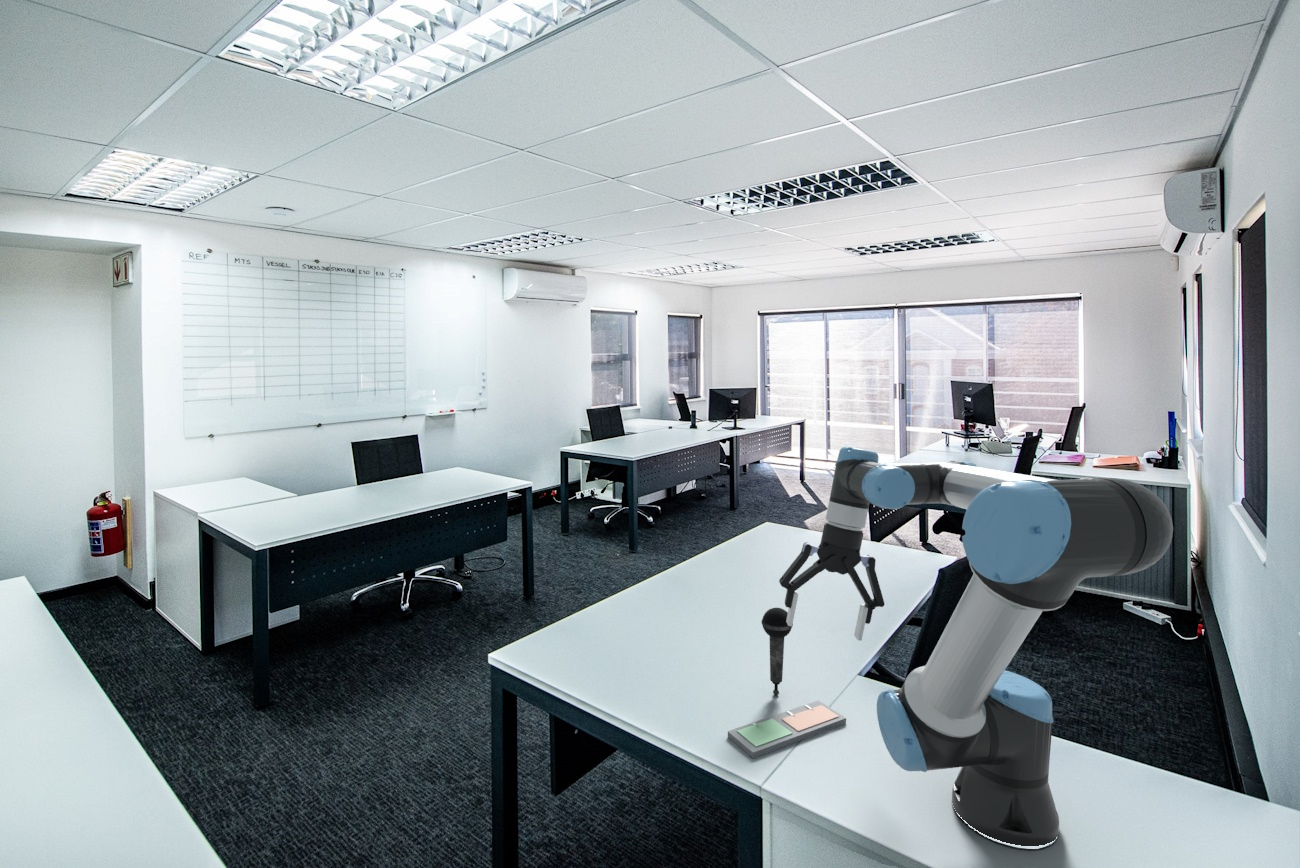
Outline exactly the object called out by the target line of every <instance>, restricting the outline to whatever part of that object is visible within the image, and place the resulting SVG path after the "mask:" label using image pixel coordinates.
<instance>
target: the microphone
mask: <svg viewBox="0 0 1300 868" xmlns="http://www.w3.org/2000/svg"><path fill="white" fill-rule="evenodd" d="M787 615H788V611H786V609H783V608H781V607H772V608H769V609H768V610H766V611H765V613H764V614H763V617H762V619H761V625H762V628H763V630H764V632H765V633H766V634H767V635H768V636H769V671H770V672H769V675H770V676H769V681H771V682H772V684H774V689H773V690H772V693H773V695H774V696H778V695H779V694H780V690H779V688H778V687H779V686H778V685H780V684H781V683H782V682H783V675H784V674H783V670H784V655H785V654H784V650H785V637H787V636H788V635H789V634H790V633H791V631H792V628H793V626H794V623H793V624H792V626H788V624H787V622H786V620H787Z"/></svg>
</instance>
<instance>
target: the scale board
mask: <svg viewBox="0 0 1300 868" xmlns="http://www.w3.org/2000/svg"><path fill="white" fill-rule="evenodd" d="M843 725H847V717H845V716H844V715H842V714H841V713H839V712H838V711H836V710H834V709H833V708H831V707H829V706H828V705H827V704H825V703H824V702H821V701H820V700H818V699H817V700H815V701H813V702H810V703H806V704H804V705H802V706H801V705H800V706H798V707H795V708H792V709H790V710H786V711H783V712H780V713H777V714H774V715H772V716H768V717H766V718H763V719H759V720H756V721H754V722H751V723H748V724H745V725H743V726H738V727H736V728H734V729H730V730H727V738H728V739H729V740H731V741H732V742H733V743H734V744H735V745H736V746H737V747H739V748H740V749H741V750H742V751H743V752H744V753H746V754H747V755H748V756H749V755H750V756H749V757H751V759H756V758H758V757H760V755H761V756H763V755H766V754H769V753H771V752H773V751H776V750H780V749H782V748H784V747H785V748H786V747H787V746H790V745H793V744H795V743H798V742H801V741H804V740H806V739H808V738H811V737H814V736H817V735H819V734H822V733H825V732H827V731H830V730H832V729H835V728H837V727H841V726H843ZM757 756H758V757H757ZM755 757H756V758H755Z"/></svg>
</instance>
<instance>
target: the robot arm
mask: <svg viewBox="0 0 1300 868" xmlns="http://www.w3.org/2000/svg"><path fill="white" fill-rule="evenodd" d="M829 495H830V496H829V500H828V505H827V509H826V515H825V520H826V521H827V522H826V523H824V525H823V529H822V534H821V535H822V536H821V539H820V543H819V545H818V546H816V545H813V544H810V543H809V542H804V543H803V545H802V548H801V552H800V553H799V554H797V555H798V556H796V558H795V559H794V561H792V563H791V564H790V566H789V567H788V568H787V570H786V571H784V573H783V574H782V576H781V577H780V578H779V580H778V583H779V584H780V586H781V587H782V588H784V589H785V590H786V593H785V599H784V605H785V607H786V608H788V610H787V612H788V615H787V620H786V622H787V624H788V626H792V624H793V625H794V619H795V614H796V610H797V609H796V607H797V602H798V598H799V593H798V591H797V590H799V588H801V587H802V586H803V585H805V584H806V583H807V582H809V581H810V580H812V578H814V577H815V576H817V575H818V574H819V573H821V572H823V571H824V570H826V571H827V572H829V573H837V574H839V575H846V574H848V575H849V578H850V579H851V581H852V582H853V584H854V586H855V587H856V589H857V591H858V593H859V595H860V596H861V598H862V600H863V603H860V605H859V609H858V610H859V611H858V614H857V618H856V619H857V620H856V625H855V628H854V629H855V630H854V634H853V636H854V637H855V638H856V640H857V641H859V642H861V641H862V640H863V637H864V636H863V635H864V630H865V625H866V624H867V625H869V624H870V623H871V621H872V616H873V611H874V610H875V609H876V608H877V607H880V608H883V607H884V606H885V600H884V598H883V594H882V590H881V586H880V583H879V580H878V575H877V573H876V558H875V557H874V556H873V555H871V554H866V555H861V547H862V542H863V538H864V534H865V533H864V531H863V530H862V529H865V527H866V524H867V520H868V519H867V518H868V514H869V513H868V512H869V508H870V504H871V505H873V506H875V507H878V508H881V509H889V510H899V509H902V508H904V507H905V506H907V505H908V506H909V505H925V504H944V505H948V506H952V507H955V508H960V509H964V510H966V511H965V513H964V516H963V520H962V527H961V528H962V530H964V532H965V534H964V535H962V536H961V541H962V547H963V549H964V553H965V556H966V558H967V560H968V563H969V567H970V569H971V572H972V573H973V574H972V576H971V578H970V580H969V582H968V584H967V586H966V588H965V590H964V592H963V593H962V596H961V598H960V599H959V601H958V603H957V605H956V607H955V609H954V610H953V613H952V615H950V619H949V621H948V623H947V624H946V625H945V627H944V630H943V632H942V634H941V635H940V638H939V640H938V641H937V644H936V645H935V647H934V649H933V651H932V652H931V655H930V656H929V658H928V661H927V662H926V664H925V665H922V666H919V667H916V668H914V669H913V670H911V672H910V673H909V674H908V675H907V677H906V678H905V681H904V683H903V684H902V687H900V688H898V689H893V688H888V689H887V690H883V691H882V692H880V693H879V695H877V700H876V716H877V721H878V727H879V730H880V734H881V737H882V740H883V742H884V745H885V748H886V749H887V751H888V753H889V755H890V757H891V759H892V760H893V761H894V763H895V764H897V766H899V767H900V768H901V769H902V770H904V771H906V772H923V773H927V771H928V772H929V771H937V770H945V769H955V768H960V771H959V772H958V774H957V775H956V779H955V781H954V783H953V785H952V791H951V804H952V803H953V806H954V808H955V810H956V812H957V813H958V814H959V815H960V817H962V819H963V820H965V821H966V822H967V823H968V824H969V825H970V826H972V827H973V828H975V829H976V830H978V831H979V832H981V833H983V834H985V835H987V836H989V837H992V838H994V839H997V840H1000V841H1002V842H1006V843H1010V844H1015V845H1021V846H1039V845H1045V844H1047V843H1050V842H1052V841H1054V840H1055V839H1056V837H1057V836H1058V837H1059V834H1058V833H1060V830H1059V829H1060V818H1059V817H1060V816H1059V814H1058V811H1057V807H1056V803H1055V801H1054V796H1053V794H1052V790H1051V787H1050V783H1049V773H1050V757H1051V756H1050V755H1051V748H1052V747H1051V746H1052V745H1051V744H1052V733H1053V723H1054V717H1053V700H1052V697H1051V695H1050V694H1049V692H1048V691H1047V690H1046V689H1045V688H1044V687H1042V686H1041V685H1040V684H1039V683H1036V682H1035V681H1033V680H1031V679H1029V678H1028V677H1025V676H1023V675H1022V674H1021V675H1020V674H1018V673H1015V672H1012V671H1009V670H1006V669H1007V667H1008V666H1009V664H1010V663H1011V661H1012V659H1013V658H1014V656H1015V654H1017V652H1018V650H1019V649H1020V647H1021V645H1022V644H1023V643H1024V641H1025V639H1026V638H1027V636H1028V635H1029V634H1030V631H1031V630H1032V628H1033V627H1034V625H1035V624H1036V622H1037V621H1038V619H1039V618H1040V616H1041V615H1042V613H1043V612H1050V611H1056V610H1058V609H1060V608H1062V607H1063V606H1064V605H1066V603H1067V602H1068V600H1069V599H1070V598H1071V596H1072V595H1073V593H1074V591H1076V589H1077V587H1078V586H1079V584H1080V583H1081V582H1082V581H1083V580H1085V579H1087V578H1103V577H1113V576H1114V577H1116V576H1117V577H1118V576H1126V575H1132V574H1135V573H1138V572H1141V571H1144V570H1146V569H1149V568H1150V567H1152V566H1153V565H1154V564H1156V563H1157V562H1158V561H1160V559H1162V558H1163V557H1164V555H1165V554H1166V552H1168V549H1169V548H1170V545H1171V542H1172V539H1173V532H1174V526H1173V519H1172V516H1171V513H1170V511H1169V509H1168V507H1167V505H1166V504H1165V502H1163V500H1162V499H1161V498H1160V497H1159V496H1158V495H1157V494H1156V493H1154V492H1153V491H1152V490H1150V488H1147V487H1145V486H1144V485H1143V484H1139V483H1137V482H1134V481H1132V480H1127V479H1122V478H1113V477H1081V478H1077V479H1076V478H1074V479H1072V478H1071V479H1054V478H1048V477H1042V476H1037V475H1036V476H1035V475H1030V474H1023V473H1019V472H1018V473H1016V472H1012V471H1011V472H1010V471H1004V470H999V469H993V468H988V467H987V468H986V467H980V466H977V464H975V463H973V462H971V461H961V460H950V461H939V462H938V461H937V462H898V463H897V462H895V463H894V462H893V463H889V462H888V463H883V462H882V463H879V454H878V453H877V452H875V451H872V450H866V449H862V448H857V447H850V446H843V447H841V448H840V449H839V453H838V456H837V460H836V462H835V466H834V474H833V479H832V485H831V489H830V493H829ZM814 554H816V555H817V556H818V559H817V560H816V561H814V563H813V564H812V565H811V566H809V567H808V568H806V569H805V570H804V571H803V572H802V573H800V574H799V575H798V576H796V577H795V575H797V573H798V572H799V571H800V570H801V568H802V567H803V566H804V564H805V563H806V562H807V560H808V559H809V557H813V556H814ZM860 563H862V564H861V565H863V567H864V568H865V572H866V575H867V579H868V583H869V586H870V589H871V593H872V597H873V598H871V595H870V594H869V593H868V590H867V589H866V587H865V585H864V583H863V581H862V580H861V578H860V576H859V574H858V572H857V571H856V569H855V567H856V566H857V565H858V564H860ZM794 577H795V578H794ZM793 578H794V579H793ZM864 603H865V604H864ZM792 627H793V626H792ZM953 806H952V807H953Z"/></svg>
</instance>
